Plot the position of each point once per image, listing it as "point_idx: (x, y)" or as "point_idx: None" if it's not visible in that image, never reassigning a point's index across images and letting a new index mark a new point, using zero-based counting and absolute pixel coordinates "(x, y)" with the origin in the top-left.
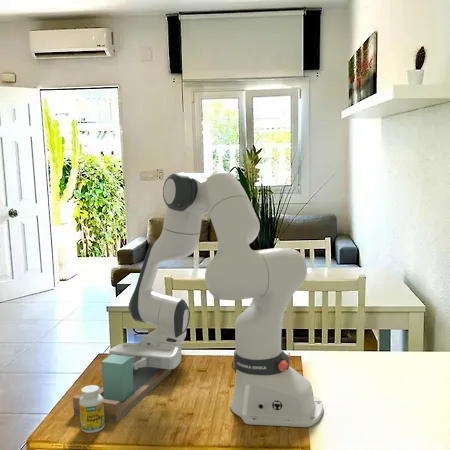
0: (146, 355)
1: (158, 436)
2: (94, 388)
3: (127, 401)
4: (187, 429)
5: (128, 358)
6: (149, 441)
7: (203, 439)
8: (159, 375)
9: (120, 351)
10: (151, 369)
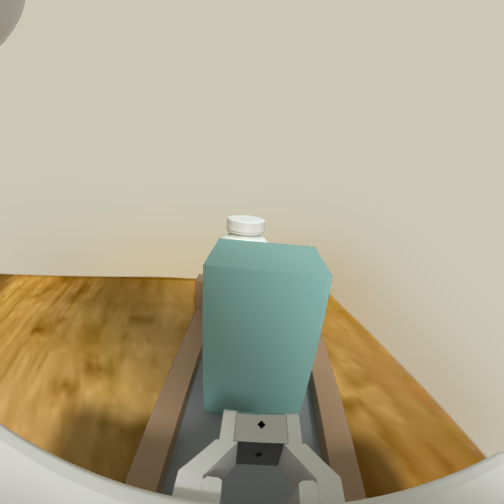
0: (176, 497)
1: (109, 287)
2: (237, 218)
3: (195, 339)
4: (59, 297)
5: (214, 257)
6: (124, 281)
7: (45, 282)
8: None
9: (451, 480)
10: None
